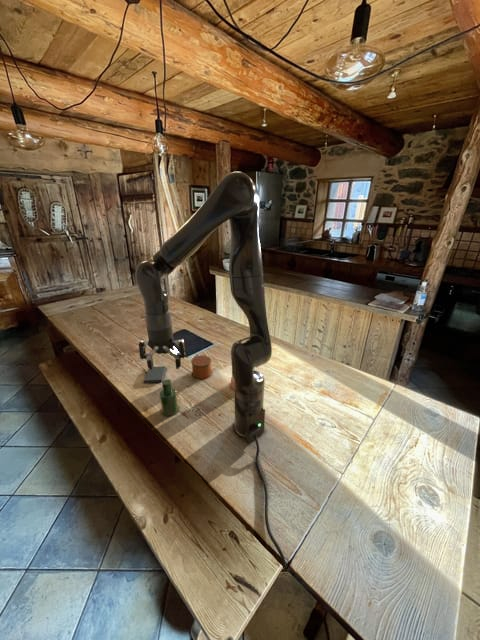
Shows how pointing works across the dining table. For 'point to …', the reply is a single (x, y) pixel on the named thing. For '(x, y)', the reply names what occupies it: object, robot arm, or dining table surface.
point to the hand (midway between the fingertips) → (164, 367)
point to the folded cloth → (155, 374)
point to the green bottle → (168, 399)
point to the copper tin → (201, 367)
